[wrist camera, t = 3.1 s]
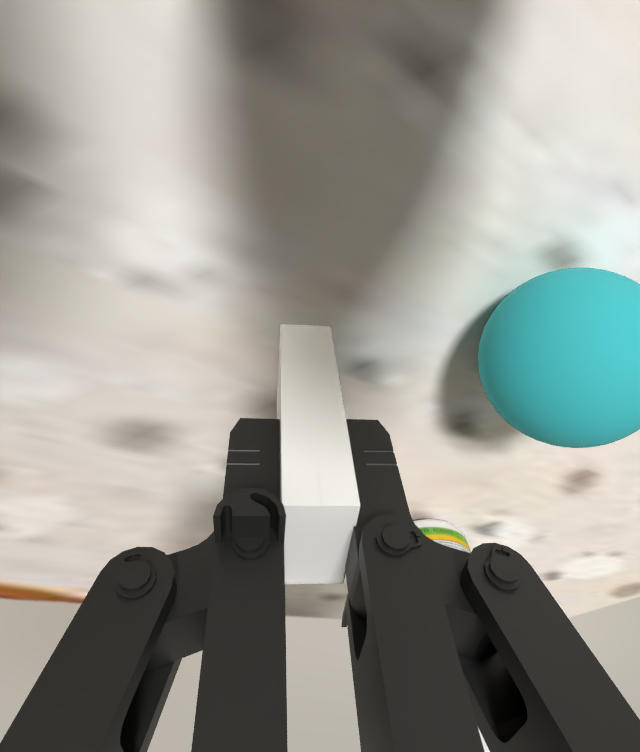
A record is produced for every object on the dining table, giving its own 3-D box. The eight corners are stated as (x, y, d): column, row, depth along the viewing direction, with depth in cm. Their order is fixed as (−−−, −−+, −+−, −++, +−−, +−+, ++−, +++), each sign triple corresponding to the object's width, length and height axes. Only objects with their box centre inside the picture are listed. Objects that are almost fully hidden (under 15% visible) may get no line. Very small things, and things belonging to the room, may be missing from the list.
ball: (440, 373, 20) (491, 486, 16) (481, 233, 17) (566, 325, 12) (573, 376, 21) (662, 485, 16) (641, 243, 17) (780, 334, 13)
